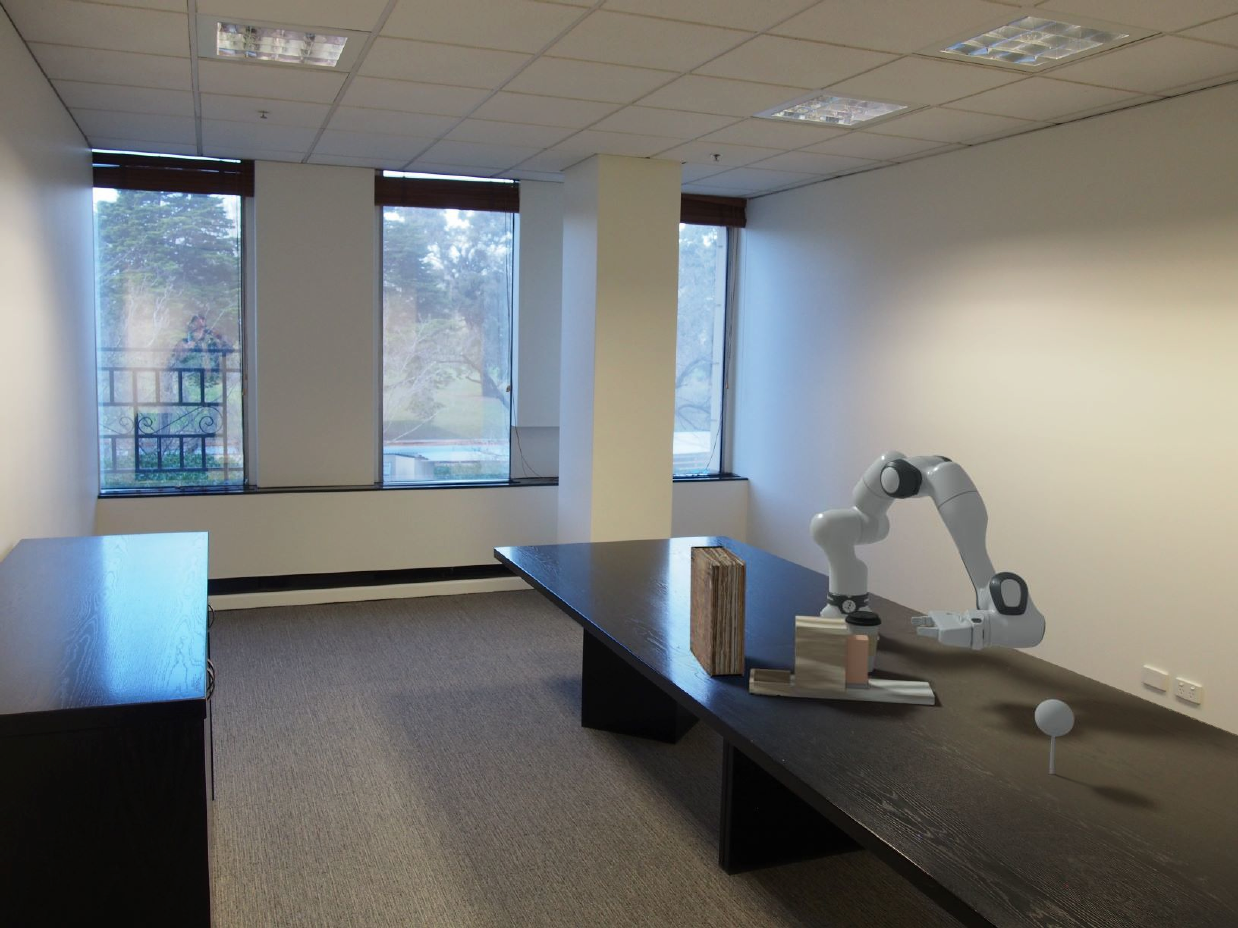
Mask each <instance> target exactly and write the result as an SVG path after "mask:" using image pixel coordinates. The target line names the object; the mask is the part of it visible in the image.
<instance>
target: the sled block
mask: <svg viewBox="0 0 1238 928" xmlns="http://www.w3.org/2000/svg"><path fill="white" fill-rule="evenodd" d="M868 643H869V640H868V637H867V635H849V634H847V636H846V670H845V688H856V689H869V687H870V685H869V681H868V679H869V678H868V674H869V672H868Z"/></svg>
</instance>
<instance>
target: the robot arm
mask: <svg viewBox="0 0 1238 928" xmlns="http://www.w3.org/2000/svg"><path fill="white" fill-rule="evenodd" d="M851 497H852V499H851V500H852V502H853V506H851V507H849V508H838V509H837V508H836V509H828V510H826V511H823V512H822V511H821V512H818V513H816V514H815V515H814V516H813V517H812V519H811V521H810V524H809V532H810V536H811V538H812V540H813V541H814V543H815V544H816V545H818V546H819V547H820V549H822V551H823V552H824V553H823V554H825V557H826V560H827V563H828V575H829V576H828V577H829V578H828V579H829V580H828V584H829V585H828V587H829V588H828V590H827V594H826V602H827V605H826V606H825V607H823V609H822V610H821V611H820V613H819V617H835V618H844V620H845V619H846V617H847V616H848V613H849V612H852V611H869V612H873V611H872V609H870V608H869V601H870V597H869V592H868V584H869V583H868V581H869V580H868V579H869V578H868V577H869V576H868V575H869V573H868V572H869V569H868V566H867V564H866V563H865V562H863V560H861V559H860V558H858V557H857V555H856V553H855V546H863V545H865V546H866V545H871V544H875V543H877V542H880V541H883V540H885V539H886V538H887V536H888V535H889V532H890V528H891V527H890V525H891V524H890V523H891V522H890V520H889V517H888V515H887V511H888V510H889V508H891V506H892V505H893V503H894V501H895V500H896V499H899V500H906V499H919V498H924V497H926V498H927V497H930V498H931V500H932V501H933V504H934V505H935V507H936V510H937V511H938V513H939V515H940V518H941V519H942V521H943V523H944V525H945V527H946V529H947V530H948V532H949V535H950V537H951V538H952V540H953V542H954V545H955V546H956V548H957V551H958V553H959V555H960V558H961V560H962V563H963V565H964V567H965V569H966V572H967V574H968V576H969V579H970V581H971V583H972V585H973V589H974V592H975V603H976V604H975V605H976V609H965V610H964V613H963V614H961V613H959V612H955V611H946V610H934V609H933V610H930V611H928V614H927V615H923V616H912V617H911V620H910V621H911V624H912V626H916V634H917V635H918V636H926V637H929V638H935V639H936V638H937V640H938V642H939V643H940V644H942V645H945V646H950V647H951V646H952V647H959V648H970V649H972V650H973V651H981V650H982V649H983V648H991V647H1002V648H1005V649H1027V648H1029V649H1030V648H1034V647H1035V648H1036V647H1037V646H1039V644H1040V643H1042V641H1043V639H1044V637H1045V636H1044V635H1045V632H1046V620H1045V619H1046V618H1045V615H1043V614H1042V613H1041V612H1040V611H1039V610H1038V608H1037V607H1036V605H1035V604H1034V601H1033V599H1032V597H1031V594H1030V592H1029V587H1028V584H1027V583H1026V580H1025V579H1024V578H1022V576H1020V575H1018V574H1017V573H1014V572H1011V571H1002V572H998V573H996V569H995V567H994V565H993V562H992V561H991V558H990V557H989V554H988V551H987V547H986V546H987V543H986V535H987V528H988V521H989V515H988V511H987V508H986V505H985V502H984V500H983V498H982V496H981V494H980V492H979V490H978V488H977V486H976V485H975V483H974V482H973V480H972V479H971V477H970V476H969V475H968V472H966V471H965V469H964V468H963V467H962V466H961V465H960V464H959V463H957V462H955V461H953V460H952V459H951V458H949V457H947V456H943V455H937V454H936V455H935V454H934V455H917V456H911V457H907V456H906V454H905V453H902V452H900V451H897V450H887V451H884V452H883V453H881V455H879V456H878V457H877V458H876V459H875V460H874V461H873V462H872V463H871V464H870V465H869V467H868V468H867V469H866V470H865V472H864V473H863V475H862V477H860V479H859V480H858V482H857V484H855V486H854V488H853V489H852V492H851ZM845 624H846V628H847V630H848V626H847V622H845ZM922 625H923V626H922ZM926 626H929V627H926ZM877 641H880V636H879V635H878V640H877Z"/></svg>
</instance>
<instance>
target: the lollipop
mask: <svg viewBox="0 0 1238 928" xmlns="http://www.w3.org/2000/svg"><path fill="white" fill-rule="evenodd" d="M1034 720H1035V723H1036V725H1037V727H1038V728H1039V730H1040V731H1042V732H1043V733H1044V734H1046V735H1048V736H1050V737H1051V740H1050V742H1051V743H1050V759H1049V774H1050V775H1054V769H1055V767H1054V764H1055V752H1056V751H1055V750H1056V749H1055V748H1056V747H1055V744H1056V737H1062V736H1065V735H1066V734H1068V733H1070V731H1072V730H1073V729H1072V728H1073V726H1074V724H1075V716H1074V713H1073V711H1072V709H1071V708H1070V706H1069V705H1068V704H1067V703H1065V702H1063V701H1061V700H1059V699H1047V700H1043V701H1042V702H1041V703H1040V704H1039V705H1038V706H1037V707H1036V709H1035V712H1034Z"/></svg>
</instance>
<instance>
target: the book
mask: <svg viewBox="0 0 1238 928" xmlns="http://www.w3.org/2000/svg"><path fill="white" fill-rule="evenodd" d="M689 589H690V591H689V592H690V596H689V597H690V599H689V600H690V607H689V608H690V609H689V610H690V611H689V613H690V614H689V615H690V616H689V651H690V652H691V653H692V654H693V656H694V658H695V659H696V660H697V661H698V664H699V665H700V666H701V667H702V669H703V671H705V673H706V674H707V675H708V677H709V676H710V677H711V678H712V676H719V675H723V676H724V675H741V674H742V675H741V676H745V657H746V656H745V655H746V654H745V653H746V652H745V651H746V650H745V648H746V607H747V606H746V604H747V603H746V602H747V601H746V600H747V599H746V598H747V596H746V595H747V594H746V592H747V563H746V561H744V560H743V559H742V558H740V557H739V556H738V555H736V554H735V553H733V552H732V551H730V550H729V549H728V548H727V547H726V546H724V545H712V546H711V545H701V546H700V545H699V546H698V545H697V546H691V547H690V588H689ZM710 677H709V678H710Z"/></svg>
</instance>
